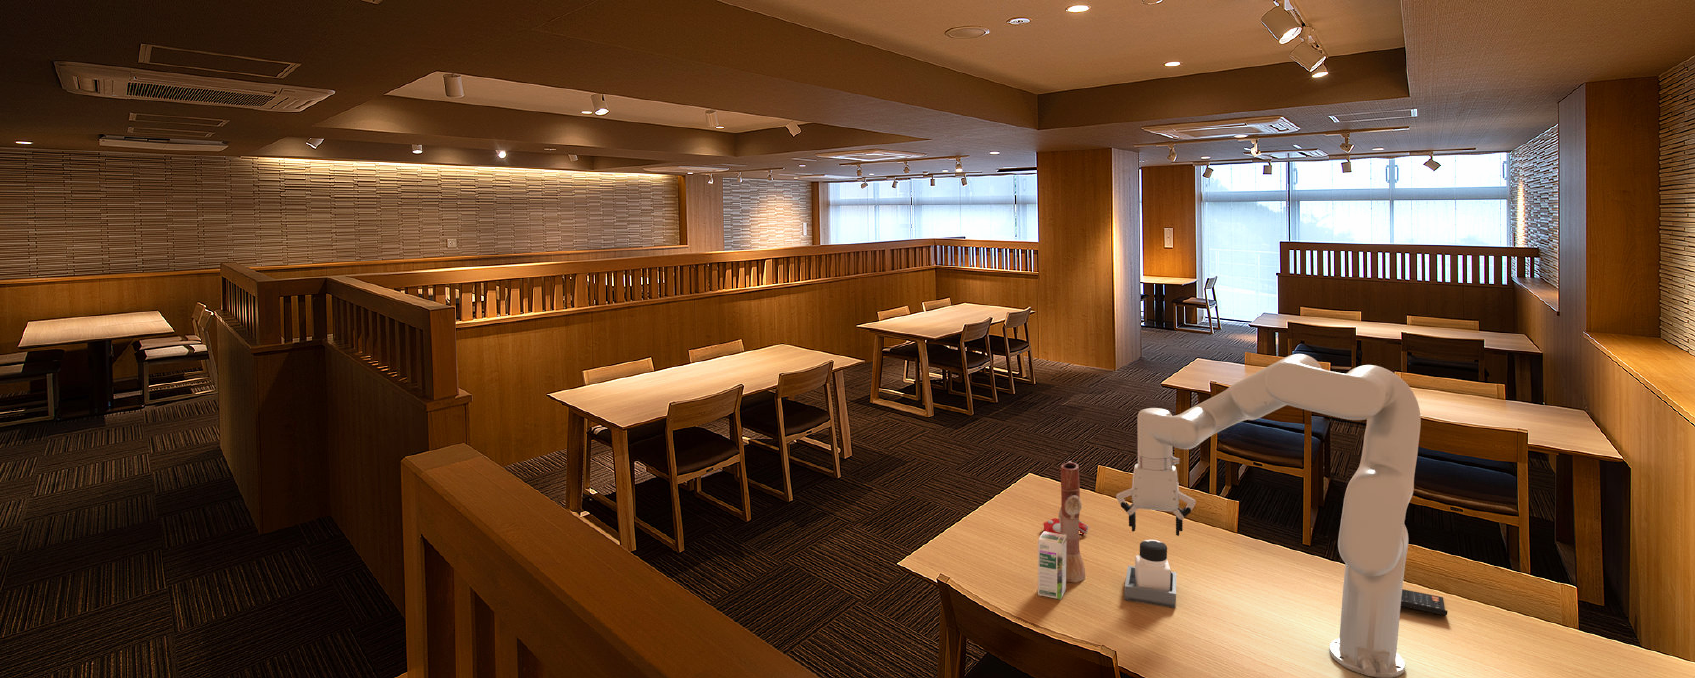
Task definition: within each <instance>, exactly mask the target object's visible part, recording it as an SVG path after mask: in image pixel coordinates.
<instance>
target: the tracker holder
mask: <svg viewBox="0 0 1695 678" xmlns="http://www.w3.org/2000/svg"><path fill="white" fill-rule="evenodd" d="M1042 525H1043V530H1044V531H1046V532H1050V533H1057V534H1060V528H1061V526H1060V521H1059V518H1051V519H1049V520H1047V521H1045V522H1043V523H1042ZM1089 528H1090V527H1089V525H1087V524H1086V523H1084V522H1082V521H1081V520H1079V531H1080V533H1082V534H1083V535H1085V534H1088V531H1089ZM1044 531H1043V532H1044Z"/></svg>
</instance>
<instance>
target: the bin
mask: <svg viewBox="0 0 1695 678" xmlns="http://www.w3.org/2000/svg"><path fill="white" fill-rule="evenodd" d="M1124 583H1125V584H1124V601H1127V602H1128V601H1129V602H1135V603H1142V604H1148V605H1153V606H1161V607H1167V608H1174V609H1177V608H1176V607H1177V605H1176V603H1177V572H1176V571H1171V592H1170V591H1164V590H1157V589H1151V588H1144V587H1137V586H1136V584H1135V566H1134V565H1127V571H1126V576H1125V582H1124Z"/></svg>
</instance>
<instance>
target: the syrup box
mask: <svg viewBox="0 0 1695 678" xmlns="http://www.w3.org/2000/svg"><path fill="white" fill-rule="evenodd" d="M1066 540H1067V536H1066V535H1065V534H1057V533H1050V532H1046V531H1043V532H1042V533H1041V534H1040V535H1039V538H1038V540H1037V558H1038V559H1037V564H1038V565H1037V567H1038V568H1037V569H1038V570H1037V572H1038V573H1037V576H1038V577H1037V578H1038V579H1037V582H1038V584H1037V596H1040V597H1042V596H1043V597H1046V598H1050V599H1051V598H1052V599H1055V600H1059V601H1061V600H1062V598H1063V597H1064V594H1065V593H1066V589H1067V582H1066Z"/></svg>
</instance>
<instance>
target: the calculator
mask: <svg viewBox="0 0 1695 678" xmlns="http://www.w3.org/2000/svg"><path fill="white" fill-rule="evenodd" d="M1401 607H1403V608H1408V609H1413V610H1417V611H1418V610H1419V611H1422V612H1428V613H1432V614H1436V615H1437V614H1438V615H1442V616H1448V610H1446V608H1445V602H1444V597H1443V596H1438V595H1433V594H1430V593H1424V592H1418V591H1413V590H1409V589H1404V588H1402V596H1401Z"/></svg>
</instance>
